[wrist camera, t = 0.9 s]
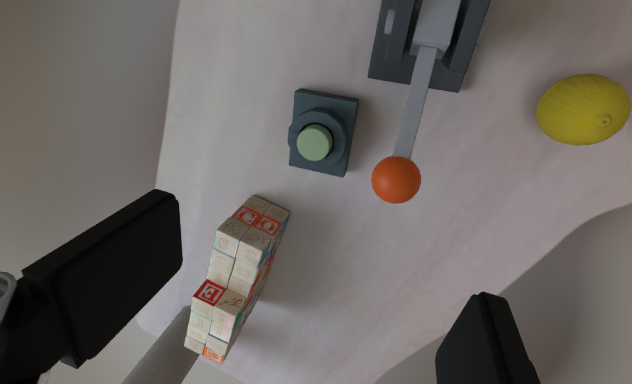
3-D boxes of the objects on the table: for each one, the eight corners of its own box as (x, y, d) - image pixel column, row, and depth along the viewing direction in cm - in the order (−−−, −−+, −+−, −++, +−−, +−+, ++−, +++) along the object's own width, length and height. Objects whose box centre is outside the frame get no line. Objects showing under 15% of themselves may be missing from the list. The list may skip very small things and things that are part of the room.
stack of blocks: (251, 192, 43) (201, 244, 33) (291, 211, 43) (252, 269, 32) (226, 286, 54) (182, 347, 44) (257, 302, 54) (220, 367, 44)
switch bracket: (456, 90, 31) (482, 124, 20) (368, 76, 32) (347, 99, 21) (497, -31, 26) (562, -77, 15) (391, -41, 27) (378, -89, 16)
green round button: (303, 121, 33) (298, 125, 32) (335, 127, 32) (331, 132, 31) (300, 151, 35) (295, 157, 33) (330, 158, 34) (326, 164, 33)
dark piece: (299, 88, 35) (289, 94, 32) (359, 99, 33) (354, 106, 30) (293, 160, 39) (283, 171, 36) (346, 172, 38) (340, 184, 35)
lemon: (608, 74, 27) (676, 89, 20) (575, 134, 30) (624, 165, 23) (540, 64, 28) (582, 75, 21) (514, 123, 30) (543, 150, 24)
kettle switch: (411, 206, 22) (417, 211, 19) (367, 195, 22) (365, 198, 19) (458, 21, 21) (473, -7, 18) (410, 15, 21) (416, -13, 18)
